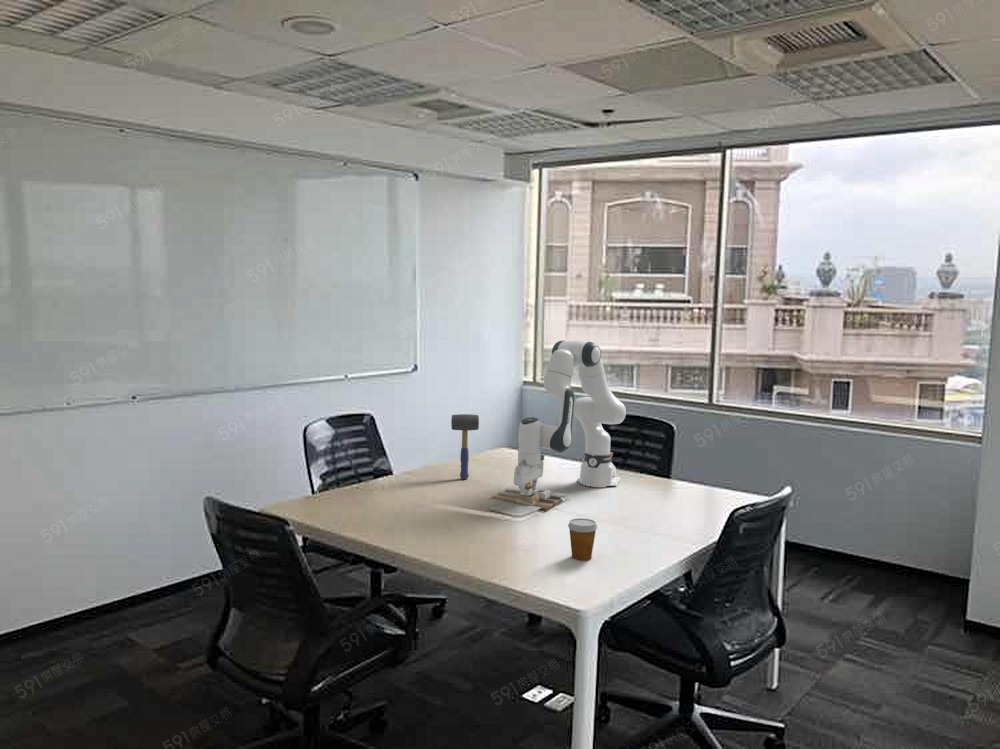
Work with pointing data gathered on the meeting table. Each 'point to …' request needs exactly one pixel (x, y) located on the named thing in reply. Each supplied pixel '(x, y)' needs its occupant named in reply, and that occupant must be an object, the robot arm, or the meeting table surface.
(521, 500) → the socket
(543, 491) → the block
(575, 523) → the disposable coffee cup
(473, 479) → the meeting table surface
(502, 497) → the board
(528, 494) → the grey and tan cylinder
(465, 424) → the rubber mallet
